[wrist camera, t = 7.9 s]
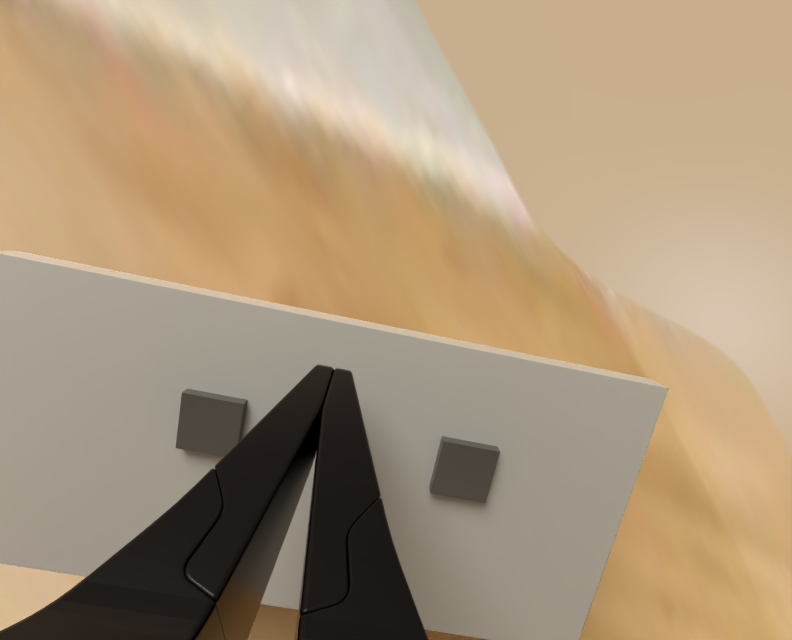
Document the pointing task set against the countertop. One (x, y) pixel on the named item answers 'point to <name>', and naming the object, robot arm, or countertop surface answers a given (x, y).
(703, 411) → the countertop surface
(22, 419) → the cover
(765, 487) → the countertop surface
